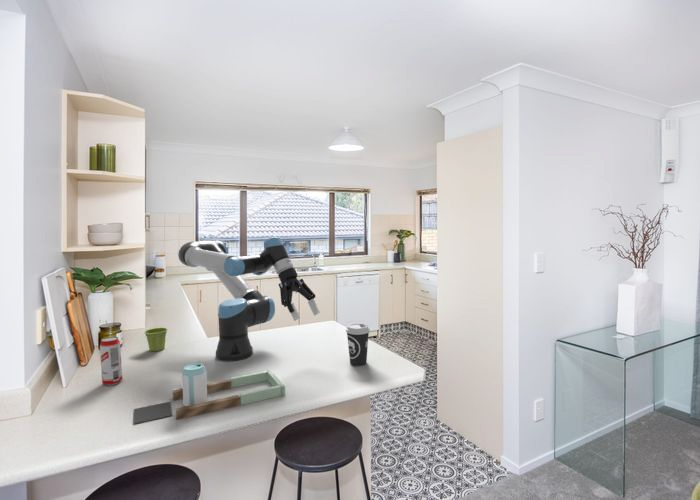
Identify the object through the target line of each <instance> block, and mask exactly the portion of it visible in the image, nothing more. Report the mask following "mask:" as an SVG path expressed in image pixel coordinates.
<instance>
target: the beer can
mask: <svg viewBox="0 0 700 500" xmlns="http://www.w3.org/2000/svg"><path fill="white" fill-rule="evenodd" d="M100 341H101V342H100V344H99V356H100V367H101V368H100V371H101V382H102V383H101V384H103V385H104V386H108V387H110V386H115V385H117V384H120V383H121V381H123V366H122V364H123V363H122V349H121V348H122V347H121V340H119V337H118V336H109V337H105V338H104V337H103V338H102V339H101V340H100Z"/></svg>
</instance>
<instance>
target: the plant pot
mask: <svg viewBox="0 0 700 500" xmlns="http://www.w3.org/2000/svg"><path fill="white" fill-rule="evenodd" d="M167 332H168V328H167V327H155V328H149V329H147V330H146V329H145V331H144V332H143V334H145V337H146V340H147V344H148V350H149V351H150V352H159V351H162V350H164V349H165V348H166V336H167Z"/></svg>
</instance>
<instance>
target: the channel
mask: <svg viewBox="0 0 700 500" xmlns="http://www.w3.org/2000/svg"><path fill="white" fill-rule="evenodd" d="M230 388H231V381H230V378H229V379H224V380H219V381H214V382H209V383H208V382H207V394H211V393H215V391H216V392H220V390H221V391H224V390H225V389H226V390H230ZM231 389H232V388H231ZM177 399H178V400H183V387H181V388H177V389H174V390H172V400H173V401H176V400H177ZM238 406H239V407H240V406H241V404H240V395H239V394H236V395H231V396H226V397H222V398H218V399H217V398H216V399H214V400H207V402H203V403H198V404H194V405H189V406H181V407H175V417H176V420H182V419H185V418H190V417H193V416H195V417H196V416H199V415H203V414H207V413H212V412H215V411H221V410H224V409H229V408H234V407H238Z"/></svg>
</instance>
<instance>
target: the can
mask: <svg viewBox="0 0 700 500" xmlns="http://www.w3.org/2000/svg"><path fill="white" fill-rule="evenodd" d="M207 379H208V378H207V369H206V368H205V365H204V364H203V363H201V362H200V363H199V362H195V363H190V364H186V365H185V366H184V367H183V370H182V372H181V383H182V387H181V388H183V398H182V402H183V403H182V404H183V405H184V406H189V405H194V404H198V403H203V402H208V393H207V384H208V382H207V381H208V380H207ZM184 406H183V407H184Z"/></svg>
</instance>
